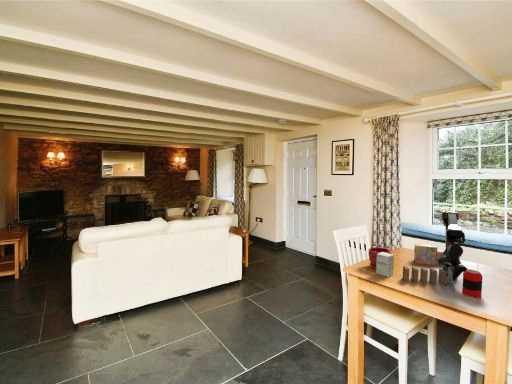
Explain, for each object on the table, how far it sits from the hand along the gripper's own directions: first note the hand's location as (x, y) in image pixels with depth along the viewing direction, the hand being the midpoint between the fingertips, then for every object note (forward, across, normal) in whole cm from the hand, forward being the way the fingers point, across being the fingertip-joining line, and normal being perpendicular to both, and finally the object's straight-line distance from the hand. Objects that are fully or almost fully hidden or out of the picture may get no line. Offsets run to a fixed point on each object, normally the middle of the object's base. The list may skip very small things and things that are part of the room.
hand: (451, 278), depth 147 cm
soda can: (+3, +12, +4) cm, 13 cm away
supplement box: (+3, -6, -33) cm, 34 cm away
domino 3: (+3, 0, -14) cm, 14 cm away
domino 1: (+3, 0, -23) cm, 23 cm away
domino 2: (+3, 0, -18) cm, 19 cm away
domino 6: (+2, 0, 0) cm, 2 cm away
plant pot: (+3, -18, -34) cm, 39 cm away
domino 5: (+3, 0, -5) cm, 6 cm away
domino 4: (+3, 0, -9) cm, 10 cm away
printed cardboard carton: (+3, -37, +3) cm, 37 cm away
